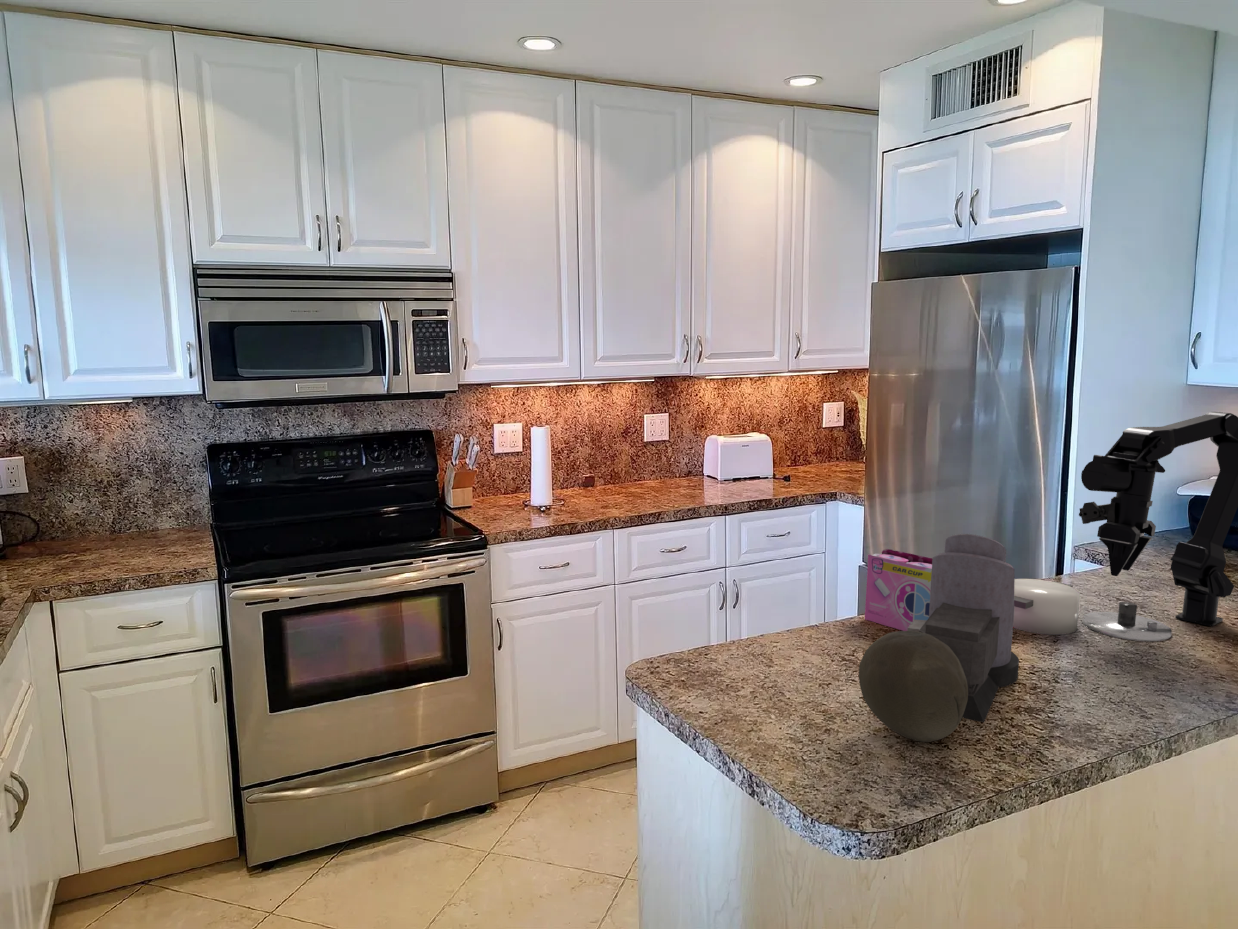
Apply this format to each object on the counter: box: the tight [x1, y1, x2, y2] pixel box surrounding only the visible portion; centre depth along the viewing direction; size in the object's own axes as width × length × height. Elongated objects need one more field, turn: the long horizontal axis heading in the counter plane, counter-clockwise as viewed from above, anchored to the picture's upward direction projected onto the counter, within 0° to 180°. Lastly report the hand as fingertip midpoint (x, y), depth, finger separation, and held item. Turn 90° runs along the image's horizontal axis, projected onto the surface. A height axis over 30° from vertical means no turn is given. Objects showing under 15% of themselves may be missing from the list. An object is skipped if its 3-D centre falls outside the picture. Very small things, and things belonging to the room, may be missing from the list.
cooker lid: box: [1081, 601, 1172, 642], centre depth 166 cm, size 15×15×5 cm
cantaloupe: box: [858, 630, 968, 743], centre depth 118 cm, size 14×14×15 cm
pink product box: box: [864, 548, 933, 631], centre depth 163 cm, size 24×8×14 cm, turn 41°
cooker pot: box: [1013, 578, 1081, 636], centre depth 168 cm, size 19×14×7 cm
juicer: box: [907, 533, 1020, 723], centre depth 138 cm, size 30×16×24 cm, turn 148°
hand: (1120, 572), depth 164 cm, fingers open, 9 cm apart
